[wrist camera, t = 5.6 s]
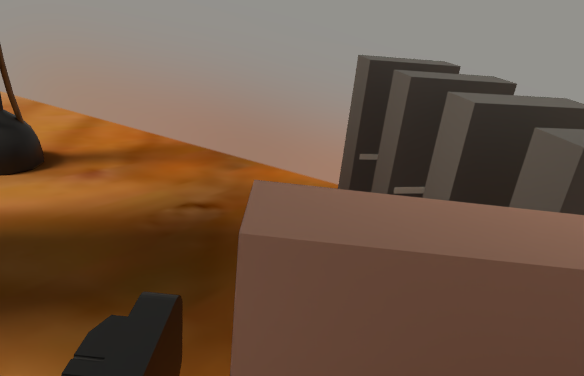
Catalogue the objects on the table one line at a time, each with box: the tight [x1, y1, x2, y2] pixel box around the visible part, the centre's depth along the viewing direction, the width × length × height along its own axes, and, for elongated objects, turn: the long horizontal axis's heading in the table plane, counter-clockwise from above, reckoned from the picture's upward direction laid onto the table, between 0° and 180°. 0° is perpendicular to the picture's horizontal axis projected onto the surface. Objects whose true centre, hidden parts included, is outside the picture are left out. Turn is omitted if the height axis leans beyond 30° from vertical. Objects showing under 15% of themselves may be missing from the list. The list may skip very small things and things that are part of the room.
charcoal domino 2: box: [371, 70, 517, 198], centre depth 21 cm, size 2×5×10 cm, turn 103°
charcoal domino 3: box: [423, 92, 584, 207], centre depth 17 cm, size 2×5×10 cm, turn 103°
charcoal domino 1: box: [338, 55, 460, 192], centre depth 25 cm, size 2×5×10 cm, turn 103°
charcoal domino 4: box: [509, 128, 584, 215], centre depth 14 cm, size 2×5×10 cm, turn 103°
